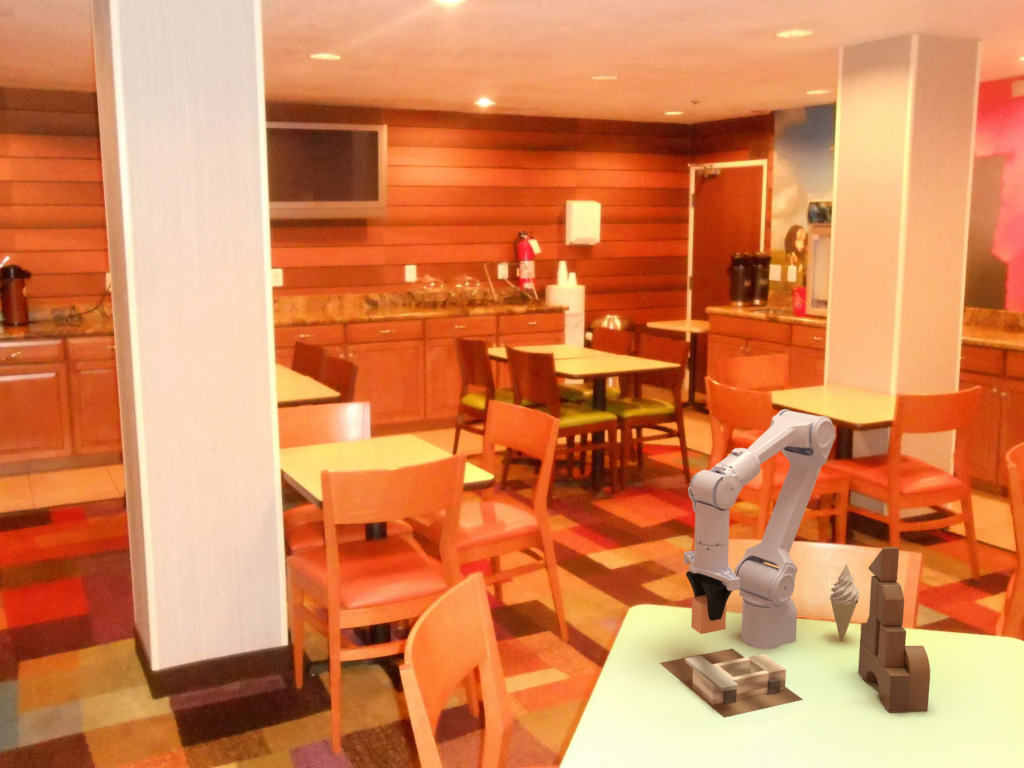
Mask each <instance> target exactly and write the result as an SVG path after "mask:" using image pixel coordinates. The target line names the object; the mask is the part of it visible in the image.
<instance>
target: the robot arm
mask: <svg viewBox="0 0 1024 768" xmlns="http://www.w3.org/2000/svg"><path fill="white" fill-rule="evenodd" d="M835 440H836V433H835V428H834V423H833V422H832V420H831V418H829V417H828V416H823V415H822V416H819V415H814V414H809V413H803V412H799V411H798V412H797V411H793V410H790V409H786V408H785V409H781V410H780V411H779V412H777V413H776V415H774V416H772V418H771V421H770V425H769V428H767V430H766V431H765V432H764V433H762V434H761V435H760V436H759V437H758V438H757V439H756V440H755V441H754V442H753V443H751V445H750V446H749V447H748V448H744V447H738V448H737V447H736V448H735V447H734V449H732V450H731V453H730V454H728V455H727V456H726V457H725V458H723V459H722V460H721V461H719V462H718V463H716V464H715V465H714V466H713V467H712V468H710V469H709V470H708V469H703V470H701V471H699V472H697V473H695V474H694V475H693V476H692V477H691V478H692V479H691V481H690V482H689V487H688V488H687V492H688V496H689V499H690V500H691V502H692V510H693V512H694V513H695V516H694V517H695V518H694V519H695V520H694V550H690V551H684V552H683V563H684V564H687V565H688V570H687V571H686V572H685V575H686V576H685V577H686V578H687V580H688V583H690V586H691V589H692V592H693V595H694V596H693V597H698V596H703V595H706V597H707V604H708V615H709V619H710V620H711V621H713V620H719V619H721V618H722V615H723V611H724V608H725V605H726V606H727V602H728V600H729V598H730V596H731V594H732V592H734V591H739V596H740V597H741V598H742V611H741V635H740V636H741V641H742V642H743V643H744V644H745V645H747V646H748V647H752V648H755V649H761V650H762V649H765V650H769V649H775V648H778V647H780V646H782V645H787V644H791V643H792V644H793V643H796V641H797V627H798V626H797V625H798V610H797V607H796V604H795V602H794V600H793V599H792V598H791V597H792V596H793V594H794V591H795V585H796V584H795V581H796V575H797V573H798V570H799V569H798V567H797V565H796V563H795V562H794V560H793V559H792V557H791V555H790V552H791V549H792V546H793V543H794V542H795V539H796V535H797V533H798V530H799V528H800V525H801V523H802V519H803V517H804V514H805V511H806V509H807V507H808V505H809V501H810V499H811V496H812V495H813V494H812V493H813V491H814V488H815V486H816V482H817V480H818V477H819V475H820V472H821V470H822V466H824V465H826V464H827V463H826V462H827V460H828V458H829V455H830V453H831V450H832V448H833V445H834V442H835ZM779 452H782V455H783V456H784V457H785V458H786V459H788V463H789V465H790V466H789V469H788V471H787V473H786V476H785V479H784V481H783V484H782V487H781V488H780V491H779V494H778V497H777V499H776V502H775V505H774V507H773V510H772V512H771V515H770V517H769V520H768V523H767V526H766V528H765V530H764V534H763V536H762V539H761V541H760V543H757V544H755V545H753V546H750V547H748V548H747V549H745V552H744V554H743V557H742V558H741V559H740V560H739V562H738V563H737V565H736V567H735V569H734V571H733V569H732V568H731V566H730V565H729V542H730V541H729V540H730V539H729V537H730V514H731V513H730V509H731V507H733V506H734V505H735V503H736V502H737V498H738V496H739V494H741V491H742V489H743V488H745V486H746V485H747V484H748V483H750V482H751V481H752V480H754V479H755V478H756V477H757V476H758V475H759V474H760V472H761V464H763V463H765V462H766V461H768V460H769V459H770V458H772V457H774V456H775V455H777V454H778V453H779ZM689 564H690V565H689ZM772 565H773V566H772ZM775 566H776V567H775Z"/></svg>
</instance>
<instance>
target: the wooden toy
mask: <svg viewBox="0 0 1024 768" xmlns="http://www.w3.org/2000/svg"><path fill="white" fill-rule="evenodd" d="M899 556H900V548H899V547H898V546H890V547H889V546H887V547H886V546H884V547H882V548H881V550H880V551H879V553H878V554H877V555H876V556H875V558H874V560H873V561H872V562H871V563H870V565H869V566H868V571H870V572H871V574H873V575H872V576H871V577H870V578H871V579H870V592H869V593H870V594H869V612H868V613H869V614H868V618H867V620H866V622H861V623H860V639H859V650H858V668H857V670H858V671H857V673H858V674H859V676H861V678H862V679H863V681H865V682H866V683H867V682H868V683H869V682H870V683H871V682H872V683H877V684H878V688H879V695H880V697H879V698H880V699H879V700H880V703H881V705H883V706H884V707H885V708H884V709H885V710H886V711H887V712H888V713H907V712H928V710H929V699H930V698H929V695H930V685H931V684H930V683H931V665H930V660H929V657H928V653H927V651H926V648H925V646H924V645H906V640H907V630H906V629H905V628H904V627H903V625H904V610H905V597H904V593H903V589H902V586H901V584H900V583H899V582H898V572H899Z"/></svg>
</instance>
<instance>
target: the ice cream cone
mask: <svg viewBox="0 0 1024 768" xmlns="http://www.w3.org/2000/svg"><path fill="white" fill-rule="evenodd" d="M849 569H850V568H849V566H848V563H846V564H845V566H844V568H843V570H842V571H841V573H840V575H839V576H838V577H837V578H838V581H837V582H835V583H833V586H834V587H832V588H830V590H831V592H833V593H831V594H830V596H829V601H830V604H831V607H832V612H833V617H834V620H835V624H836V625H835V626H836V629H837V633H838V637H839V640H840V641H841V642H843V641H844V640H845V639H844V638H845V636H846V634H847V630H848V628H849V626H850V623H851V619H852V617H853V614H854V611H855V609H856V606H857V604H858V603H859V600H858V599H860V590H859V588H858V587H857V585H856V584H855V583H854V577H853V576H852V574H851V572H850V570H849Z"/></svg>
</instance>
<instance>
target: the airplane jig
mask: <svg viewBox="0 0 1024 768" xmlns="http://www.w3.org/2000/svg"><path fill="white" fill-rule="evenodd" d="M659 664H660V665H661V666H662V667H664V668H665V669H666V670H667V671H668V672H669V673H670V674H672V675H673V676H674V677H675V678H676V679H678V681H680V682H681V683H682V684H683V685H685V686H686V687H687V688H688V689H689V690H691V691H692V692H693V693H694V694H695V695H697V696H698V697H699V698H700V699H701V700H702V701H704V703H705V704H707V705H709V707H711V709H713V710H714V711H715V712H717V713H718V714H719V715H720V716H721V717H722V718H729V717H733V716H738V715H742V714H747V713H750V712H751V713H752V712H756V711H759V710H765V709H768V708H773V707H778V706H782V705H785V704H786V705H787V704H791V703H795V702H800V701H803V700H804V699H803V698H802V697H800V696H799V695H797V694H796V693H795V692H794V691H793V690H791V689H790V688H788V687H786V679H787V678H786V676H787V669H786V668H785V667H784V666H782V665H781V664H779V663H777V662H776V661H775V660H774V659H772V658H771V657H770V656H768V655H767V654H765V653H761V654H757V655H751V656H748V657H745V656H744V655H742V654H740V653H739V652H738V651H737V650H735V649H734V648H729V649H728V648H727V649H723V650H717V651H713V652H707V653H703V654H702V653H701V654H697V655H693V656H687V657H683V658H677V659H672V660H668V661H667V660H666V661H662V662H659Z"/></svg>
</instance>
